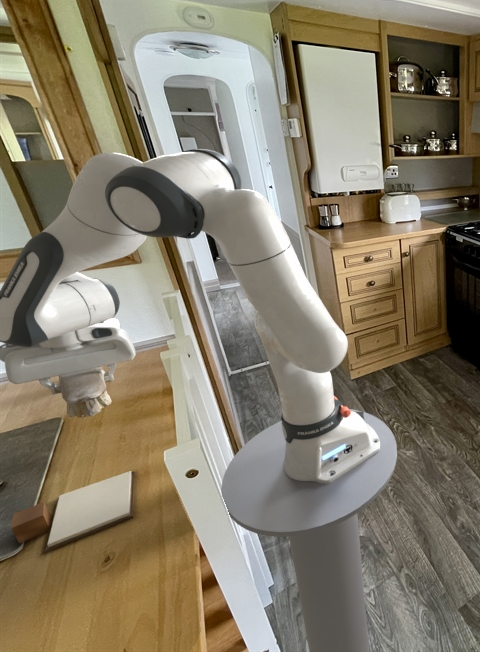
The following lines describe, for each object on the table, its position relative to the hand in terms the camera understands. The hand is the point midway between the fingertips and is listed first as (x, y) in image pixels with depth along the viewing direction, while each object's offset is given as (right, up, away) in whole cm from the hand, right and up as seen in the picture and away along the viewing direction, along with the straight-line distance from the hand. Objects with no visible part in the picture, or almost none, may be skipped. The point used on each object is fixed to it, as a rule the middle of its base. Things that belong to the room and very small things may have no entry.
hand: (85, 386), depth 87 cm
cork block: (+7, -24, -16) cm, 29 cm away
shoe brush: (0, -2, +1) cm, 2 cm away
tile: (+13, -22, -11) cm, 28 cm away
